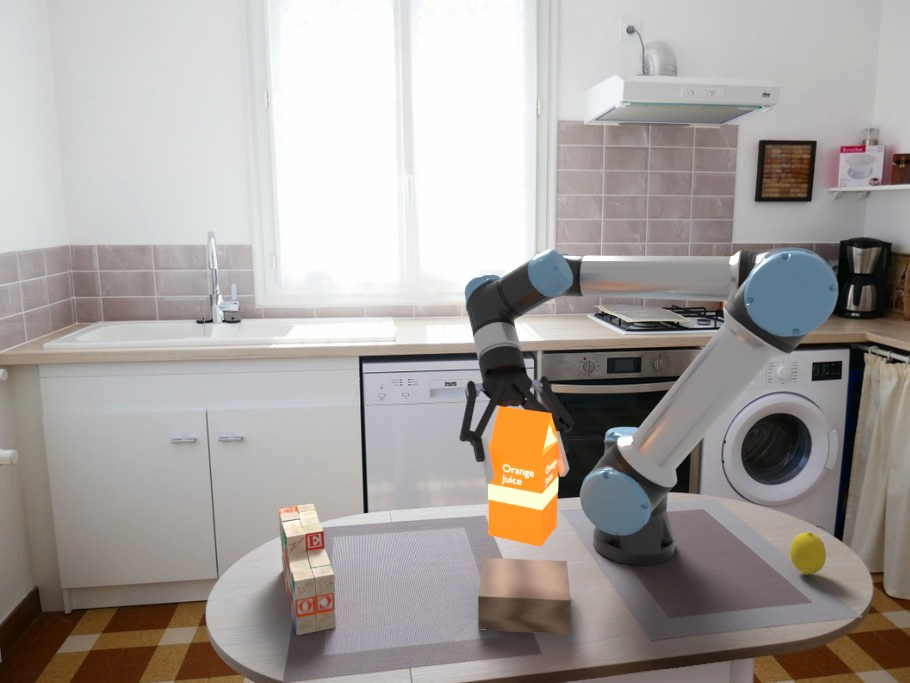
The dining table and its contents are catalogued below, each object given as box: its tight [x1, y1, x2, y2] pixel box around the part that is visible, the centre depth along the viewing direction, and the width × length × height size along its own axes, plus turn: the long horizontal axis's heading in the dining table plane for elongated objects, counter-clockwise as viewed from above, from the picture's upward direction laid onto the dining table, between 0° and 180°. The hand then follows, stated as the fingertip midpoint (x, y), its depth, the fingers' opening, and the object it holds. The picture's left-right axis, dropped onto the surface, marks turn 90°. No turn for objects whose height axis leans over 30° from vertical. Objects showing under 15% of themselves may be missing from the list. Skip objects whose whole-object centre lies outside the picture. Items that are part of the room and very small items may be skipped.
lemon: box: [789, 531, 827, 576], centre depth 122 cm, size 6×6×8 cm
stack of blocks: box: [278, 503, 337, 636], centre depth 117 cm, size 21×6×12 cm, turn 19°
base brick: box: [477, 557, 572, 635], centre depth 113 cm, size 14×12×6 cm
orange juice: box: [487, 406, 559, 548], centre depth 109 cm, size 8×9×20 cm
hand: (528, 476), depth 106 cm, fingers closed on orange juice, 11 cm apart
